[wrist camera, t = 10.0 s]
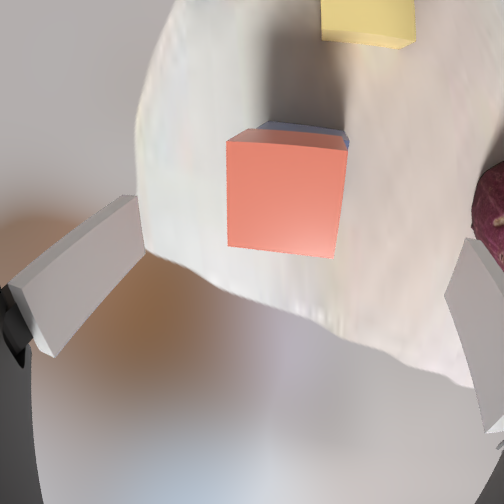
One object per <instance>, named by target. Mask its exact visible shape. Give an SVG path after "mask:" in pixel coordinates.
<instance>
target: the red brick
mask: <svg viewBox="0 0 504 504" xmlns="http://www.w3.org/2000/svg"><path fill="white" fill-rule="evenodd" d="M347 155H348V150H347V148H346V145H345V143H344V140H343V138H342V136H335V135H327V134H317V133H307V132H296V131H283V130H267V129H247V130H245V131H243V132H241V133H240V134H238V135H236V136H234V137H233V138H231V139H229V140H228V141H226V167H227V235H228V246H231V247H239V248H248V249H256V250H264V251H272V252H281V253H289V254H297V255H306V256H314V257H322V258H330V259H333V258H334V252H335V246H336V240H337V233H338V227H339V220H340V213H341V206H342V198H343V190H344V182H345V174H346V165H347Z"/></svg>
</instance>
